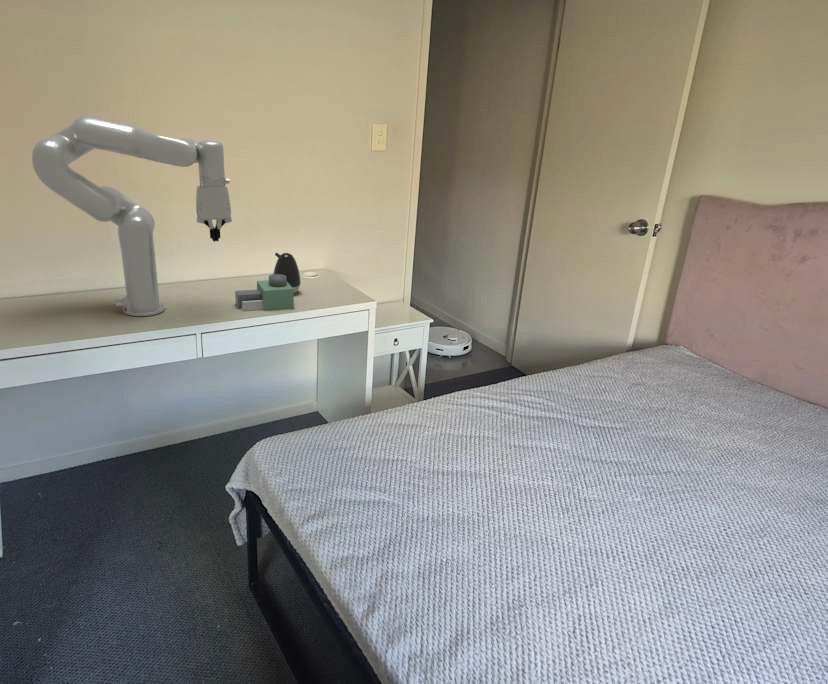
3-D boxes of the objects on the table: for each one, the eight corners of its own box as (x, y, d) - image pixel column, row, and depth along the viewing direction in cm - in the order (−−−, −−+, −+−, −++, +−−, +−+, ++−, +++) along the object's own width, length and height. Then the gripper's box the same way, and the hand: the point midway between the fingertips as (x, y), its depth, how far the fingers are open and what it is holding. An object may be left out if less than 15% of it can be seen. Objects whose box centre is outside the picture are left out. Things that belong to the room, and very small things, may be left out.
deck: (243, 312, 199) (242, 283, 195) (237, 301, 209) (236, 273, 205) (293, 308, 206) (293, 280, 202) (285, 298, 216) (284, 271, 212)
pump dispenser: (285, 287, 228) (285, 248, 223) (306, 292, 223) (306, 253, 218) (266, 292, 220) (265, 252, 214) (287, 298, 215) (287, 257, 210)
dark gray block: (238, 309, 202) (237, 295, 200) (235, 304, 206) (235, 290, 204) (261, 307, 205) (261, 293, 203) (259, 303, 209) (258, 289, 207)
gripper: (234, 181, 192) (237, 237, 199) (185, 180, 186) (189, 238, 192) (239, 184, 186) (241, 242, 192) (188, 183, 179) (192, 243, 186)
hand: (215, 240), depth 192 cm, fingers closed
